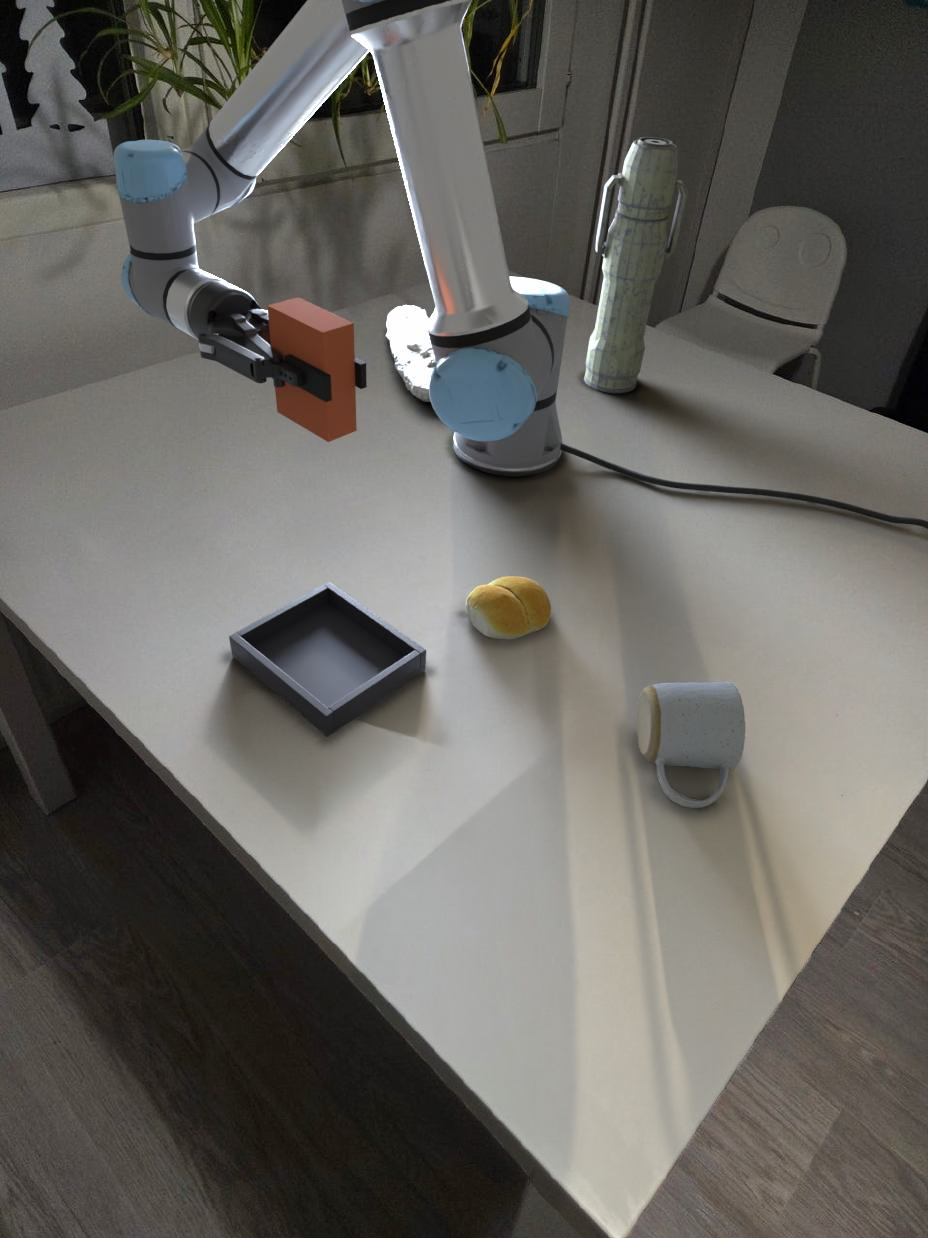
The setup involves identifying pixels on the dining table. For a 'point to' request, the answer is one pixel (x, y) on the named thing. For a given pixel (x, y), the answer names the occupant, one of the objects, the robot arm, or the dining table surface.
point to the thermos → (633, 260)
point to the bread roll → (508, 607)
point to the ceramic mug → (691, 730)
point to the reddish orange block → (325, 348)
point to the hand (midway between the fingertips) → (346, 382)
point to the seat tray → (328, 656)
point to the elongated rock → (411, 348)
